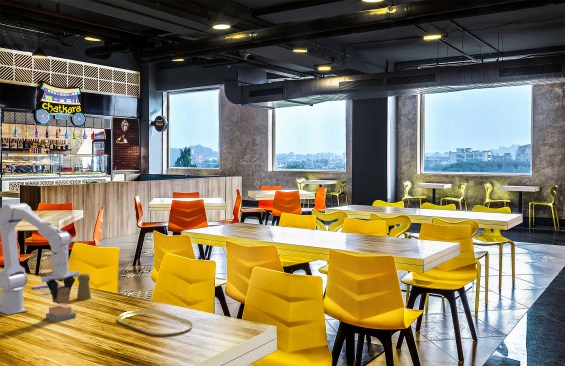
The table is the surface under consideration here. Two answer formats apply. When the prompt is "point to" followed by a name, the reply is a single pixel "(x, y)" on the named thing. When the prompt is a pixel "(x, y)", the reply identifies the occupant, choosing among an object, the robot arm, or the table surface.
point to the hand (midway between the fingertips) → (60, 297)
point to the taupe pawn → (83, 287)
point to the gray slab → (61, 317)
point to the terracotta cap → (59, 310)
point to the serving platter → (156, 314)
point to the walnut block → (62, 295)
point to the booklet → (42, 288)
